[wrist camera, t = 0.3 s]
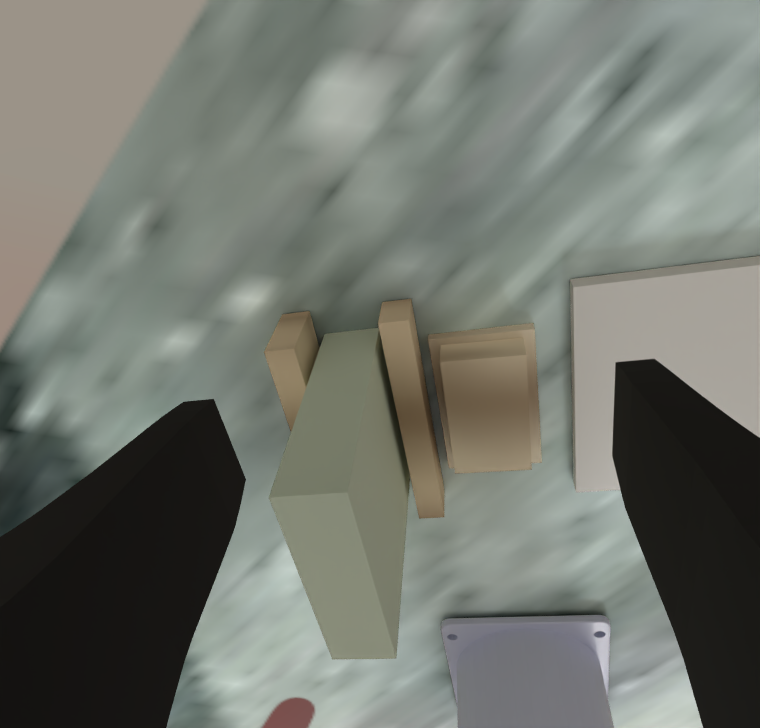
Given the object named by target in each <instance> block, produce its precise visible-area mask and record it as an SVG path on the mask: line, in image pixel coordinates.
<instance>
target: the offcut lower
mask: <svg viewBox="0 0 760 728" xmlns="http://www.w3.org/2000/svg"><path fill="white" fill-rule="evenodd" d="M514 338H523V339H524V344H525V350H526V356H527V378H528V400H529V422H530V443H531V463H542V457H541V438H540V419H539V401H538V382H537V363H536V344H535V328H534V324H533V323H529V324H520V325H510V326H501V327H492V328H483V329H474V330H465V331H456V332H447V333H438V334H429V335H428V343H429V349H430V355H431V361H432V367H433V373H434V380H435V386H436V392H437V398H438V404H439V410H440V416H441V422H442V428H443V434H444V441H445V447H446V453H447V459H448V465H449V468H454V461H453V454H452V446H451V439H450V432H449V424H448V417H447V410H446V403H445V395H444V388H443V381H442V373H441V366H440V349H441V345H447V344H458V343H469V342H480V341H491V340H502V339H514Z"/></svg>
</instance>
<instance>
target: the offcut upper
mask: <svg viewBox="0 0 760 728" xmlns="http://www.w3.org/2000/svg"><path fill="white" fill-rule="evenodd" d="M440 366H441V373H442V381H443V388H444V395H445V403H446V410H447V417H448V424H449V432H450V439H451V446H452V454H453V461H454V468H455V474H456V473H476V472H496V471H516V470H532V465H531V443H530V422H529V400H528V378H527V356H526V350H525V344H524V339H523V338H514V339H502V340H491V341H480V342H469V343H458V344H447V345H441V349H440Z"/></svg>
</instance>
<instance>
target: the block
mask: <svg viewBox="0 0 760 728" xmlns="http://www.w3.org/2000/svg"><path fill="white" fill-rule="evenodd" d="M409 482H410V472H409V467H408V463H407V458H406V453H405V449H404V444H403V439H402V435H401V430H400V425H399V420H398V416H397V411H396V406H395V402H394V397H393V392H392V388H391V383H390V378H389V373H388V369H387V364H386V359H385V355H384V350H383V345H382V341H381V336H380V331H379V328H372V329H363V330H354V331H346V332H337V333H328V334H324V337H323V340H322V343H321V346H320V349H319V352H318V355H317V358H316V361H315V363H314V366H313V369H312V372H311V375H310V378H309V381H308V384H307V387H306V390H305V393H304V396H303V399H302V402H301V405H300V408H299V410H298V413H297V416H296V419H295V422H294V425H293V428H292V431H291V434H290V437H289V440H288V443H287V446H286V449H285V452H284V455H283V457H282V460H281V463H280V466H279V469H278V472H277V475H276V478H275V481H274V484H273V487H272V490H271V493H270V496H269V499H270V502H271V504H272V507H273V509H274V512H275V514H276V517H277V520H278V522H279V525H280V527H281V530H282V532H283V535H284V537H285V540H286V542H287V545H288V547H289V550H290V553H291V555H292V558H293V560H294V563H295V565H296V568H297V570H298V573H299V575H300V578H301V580H302V583H303V586H304V588H305V591H306V593H307V596H308V598H309V601H310V603H311V606H312V608H313V611H314V614H315V616H316V619H317V621H318V624H319V626H320V629H321V631H322V634H323V636H324V639H325V641H326V644H327V647H328V649H329V652H330V654H331V657H332V659H393V658H396V656H397V643H398V629H399V616H400V603H401V589H402V576H403V562H404V549H405V535H406V522H407V509H408V495H409Z"/></svg>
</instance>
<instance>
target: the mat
mask: <svg viewBox="0 0 760 728" xmlns="http://www.w3.org/2000/svg"><path fill="white" fill-rule="evenodd" d="M570 302H571V365H572V428H573V482H574V486H575V490H576V492H591V491H608V490H620V486H619V482H618V478H617V474H616V469H615V465H614V461H613V457H612V444H613V417H614V389H615V362H623V361H634V360H645V359H656V360H657V361H658V362H660V363H661V364H662V365H663V366H665V367H666V368H667V369H669V370H670V371H671V372H672V373H674V374H675V375H676V376H677V377H679V378H680V379H681V380H683V381H684V382H685V383H686V384H688V385H689V386H690V387H691V388H693V389H694V390H695V391H697V392H698V393H699V394H700V395H702V396H703V397H704V398H706V399H707V400H708V401H710V402H711V403H712V404H714V405H715V406H716V407H718V408H719V409H720V410H722V411H723V412H724V413H726V414H727V415H728V416H730V417H731V418H732V419H734V420H735V421H737V422H738V423H739V424H741V425H742V426H744V427H745V428H746V429H748V430H749V431H751V432H752V433H753V434H755V435H756V436H758V437H759V438H760V256H755V257H747V258H739V259H731V260H722V261H714V262H706V263H698V264H690V265H682V266H673V267H665V268H657V269H649V270H641V271H633V272H624V273H616V274H608V275H600V276H592V277H584V278H575V279H570Z"/></svg>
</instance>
